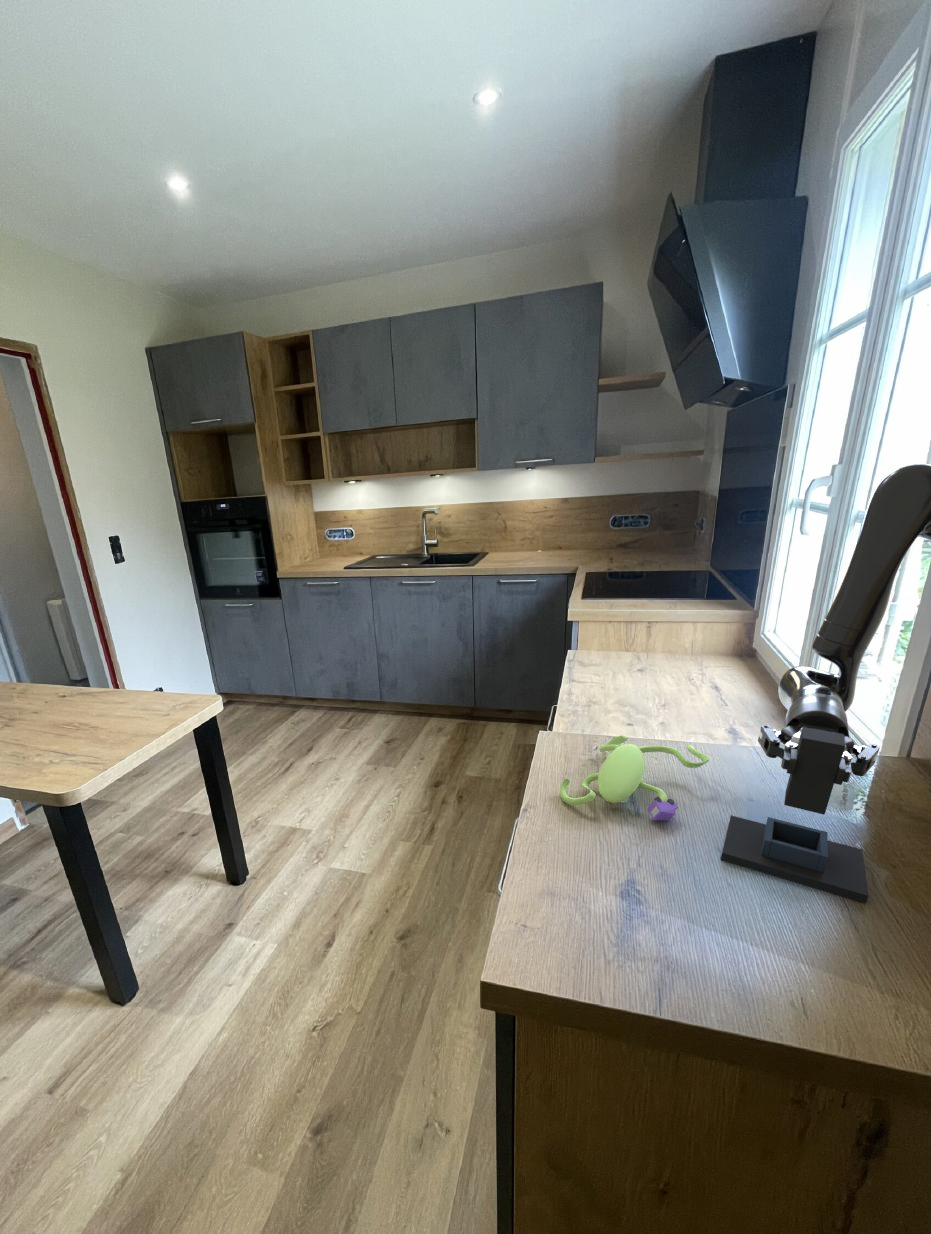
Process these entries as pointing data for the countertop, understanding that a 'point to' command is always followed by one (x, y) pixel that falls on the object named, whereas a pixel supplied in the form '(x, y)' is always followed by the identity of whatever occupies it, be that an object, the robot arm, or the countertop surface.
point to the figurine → (630, 776)
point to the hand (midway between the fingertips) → (815, 772)
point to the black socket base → (796, 856)
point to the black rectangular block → (814, 770)
